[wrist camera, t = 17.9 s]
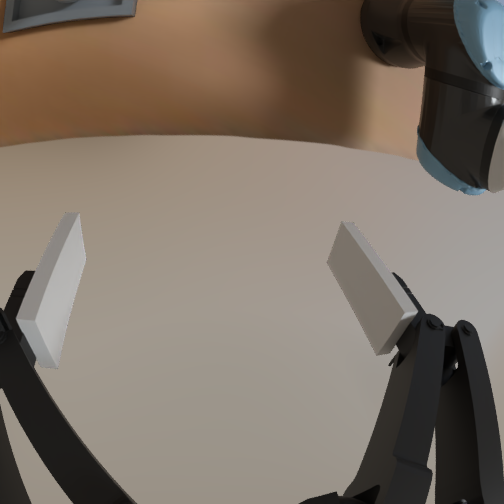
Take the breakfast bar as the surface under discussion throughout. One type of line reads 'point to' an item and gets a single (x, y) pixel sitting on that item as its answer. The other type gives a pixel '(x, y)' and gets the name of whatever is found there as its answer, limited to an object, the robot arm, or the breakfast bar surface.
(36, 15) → the tray
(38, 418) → the robot arm
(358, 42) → the breakfast bar surface
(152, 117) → the breakfast bar surface
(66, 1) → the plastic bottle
